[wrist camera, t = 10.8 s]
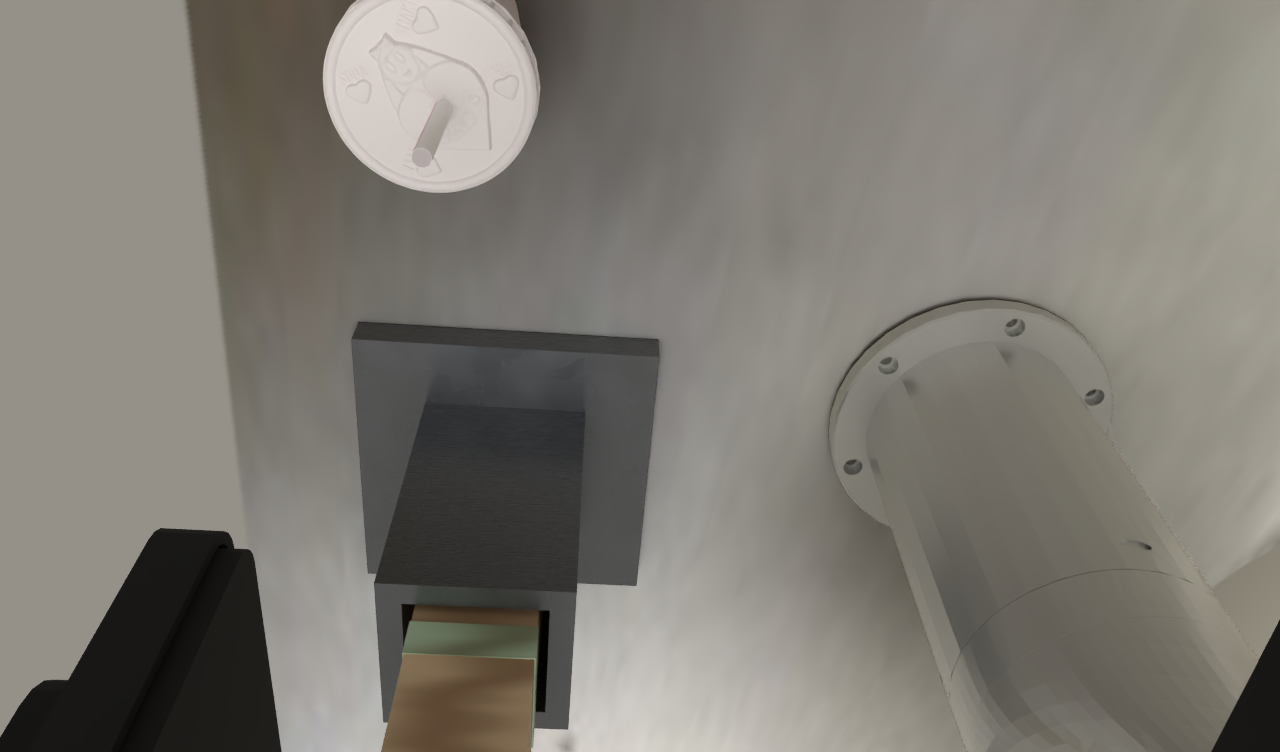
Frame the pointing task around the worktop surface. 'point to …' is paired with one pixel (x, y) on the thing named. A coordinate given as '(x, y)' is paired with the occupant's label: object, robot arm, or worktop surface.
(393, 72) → the smoothie
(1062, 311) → the worktop surface
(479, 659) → the column
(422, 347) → the stand
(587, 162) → the worktop surface
